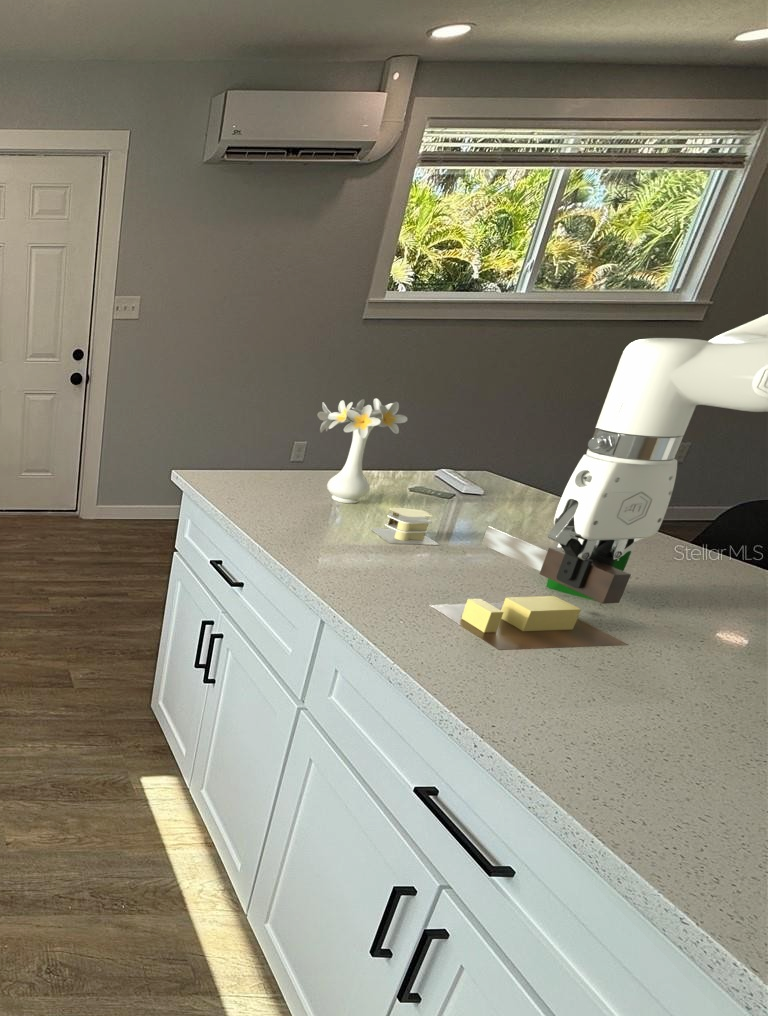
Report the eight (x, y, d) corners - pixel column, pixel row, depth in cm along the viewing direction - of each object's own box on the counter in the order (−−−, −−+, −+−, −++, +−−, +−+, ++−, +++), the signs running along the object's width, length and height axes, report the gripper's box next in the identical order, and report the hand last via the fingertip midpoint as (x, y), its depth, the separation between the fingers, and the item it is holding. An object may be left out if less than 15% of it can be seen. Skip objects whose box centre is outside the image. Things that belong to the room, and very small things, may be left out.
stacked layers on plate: (416, 529, 140) (423, 506, 137) (440, 545, 131) (447, 520, 129) (368, 528, 141) (374, 504, 138) (389, 543, 132) (396, 518, 130)
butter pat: (473, 617, 100) (479, 598, 98) (496, 632, 96) (504, 612, 94) (460, 618, 100) (467, 598, 98) (484, 632, 96) (491, 612, 94)
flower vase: (306, 487, 169) (326, 392, 159) (386, 499, 159) (413, 398, 149) (297, 500, 159) (317, 399, 149) (382, 513, 149) (410, 407, 139)
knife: (619, 603, 80) (631, 574, 78) (602, 603, 80) (614, 575, 78) (489, 543, 98) (497, 519, 97) (475, 544, 98) (483, 520, 96)
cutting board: (540, 608, 106) (543, 600, 105) (625, 653, 93) (629, 644, 92) (425, 612, 105) (428, 604, 104) (495, 658, 92) (499, 649, 91)
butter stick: (546, 615, 100) (554, 595, 99) (572, 629, 96) (581, 609, 95) (498, 617, 100) (505, 597, 99) (523, 631, 96) (531, 611, 95)
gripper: (600, 455, 73) (547, 599, 80) (730, 451, 73) (667, 593, 80) (541, 441, 80) (497, 574, 87) (661, 437, 80) (608, 569, 87)
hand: (579, 582), depth 83 cm, fingers closed on knife, 2 cm apart
